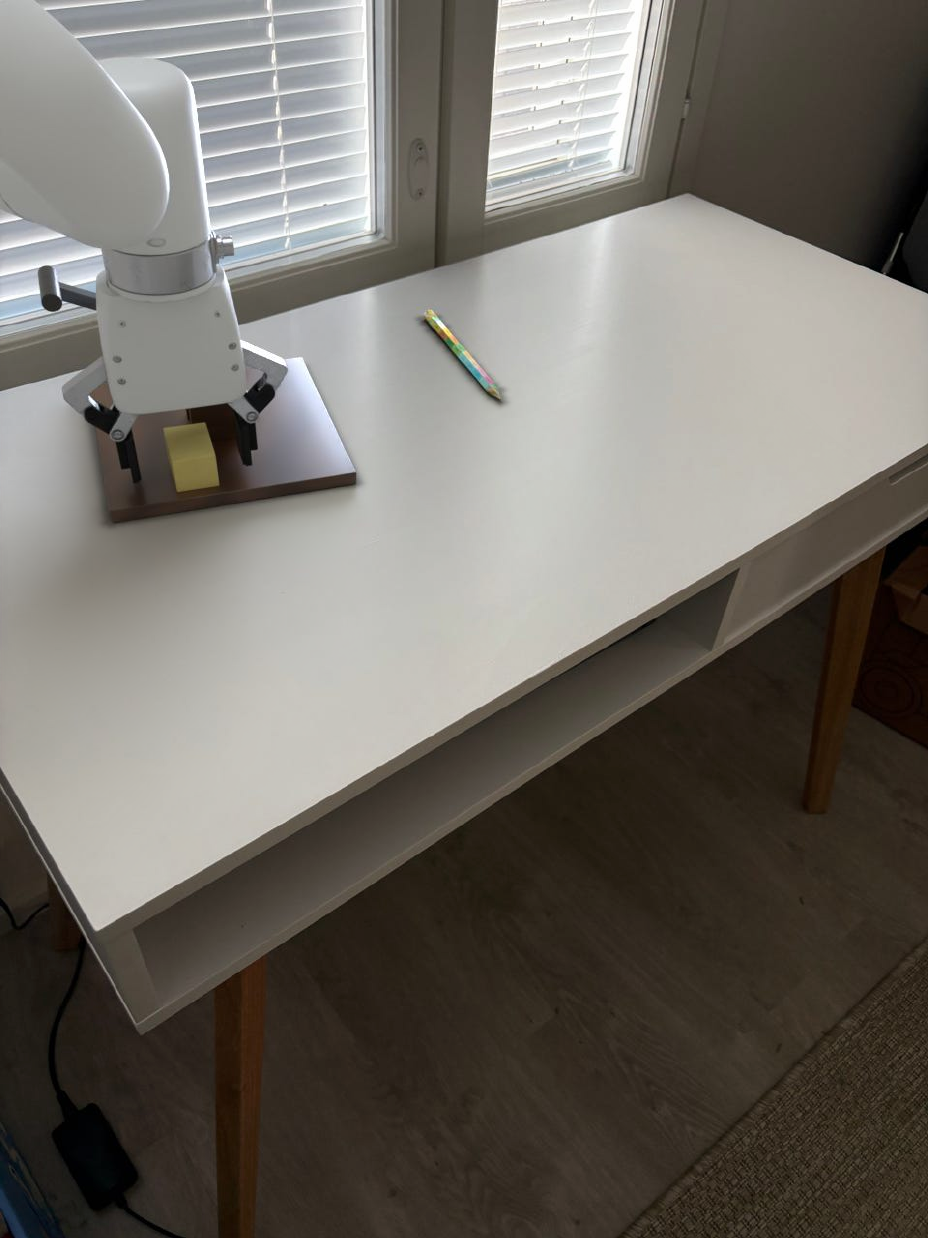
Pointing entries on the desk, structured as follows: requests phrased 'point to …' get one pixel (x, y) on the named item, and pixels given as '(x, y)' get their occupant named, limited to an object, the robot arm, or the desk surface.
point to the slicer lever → (61, 292)
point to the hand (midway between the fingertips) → (191, 464)
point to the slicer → (230, 452)
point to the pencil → (462, 354)
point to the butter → (191, 457)
